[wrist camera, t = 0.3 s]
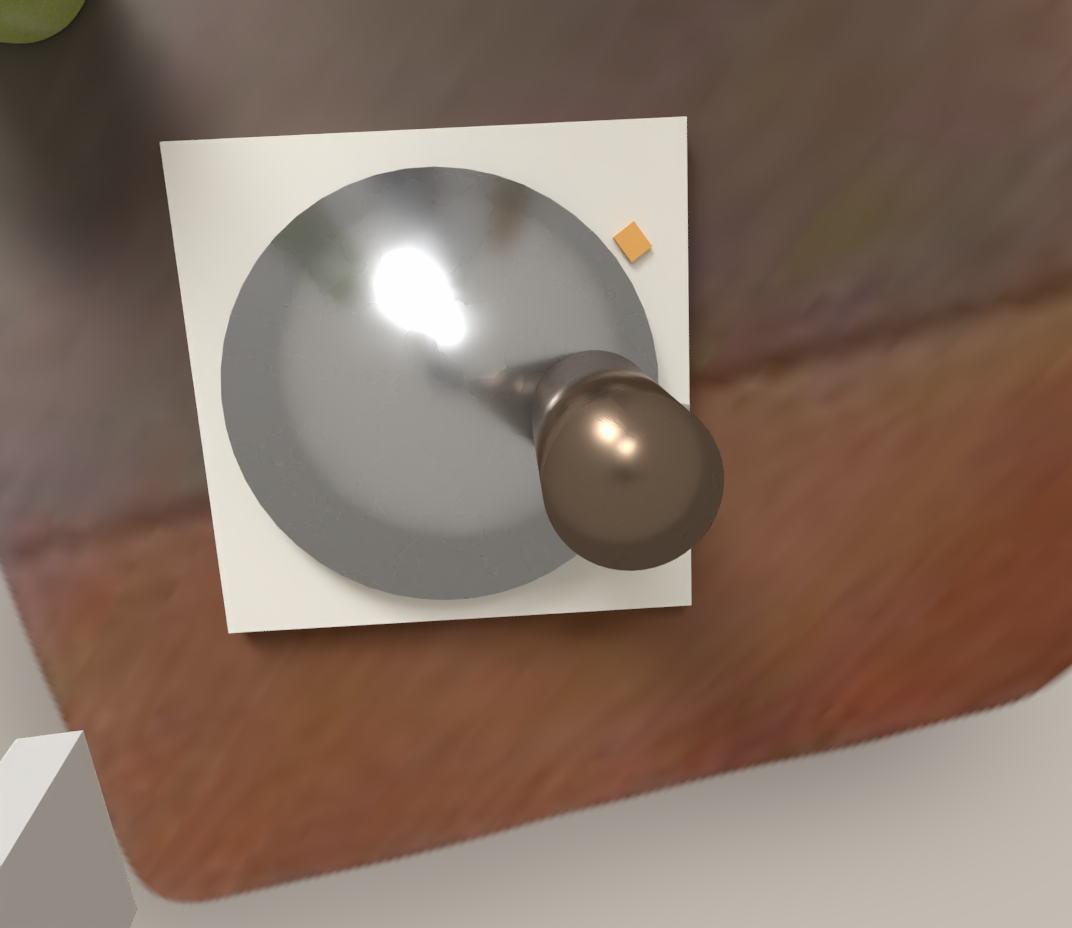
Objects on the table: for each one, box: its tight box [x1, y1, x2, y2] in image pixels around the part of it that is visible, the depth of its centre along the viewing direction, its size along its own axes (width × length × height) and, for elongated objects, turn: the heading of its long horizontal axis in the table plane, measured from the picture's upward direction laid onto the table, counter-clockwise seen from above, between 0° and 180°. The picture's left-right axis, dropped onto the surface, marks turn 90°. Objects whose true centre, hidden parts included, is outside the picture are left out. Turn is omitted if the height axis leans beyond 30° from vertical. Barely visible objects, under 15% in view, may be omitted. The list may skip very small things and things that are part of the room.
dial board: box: [160, 116, 691, 633], centre depth 37 cm, size 20×20×2 cm
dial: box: [221, 167, 724, 600], centre depth 30 cm, size 17×17×12 cm
